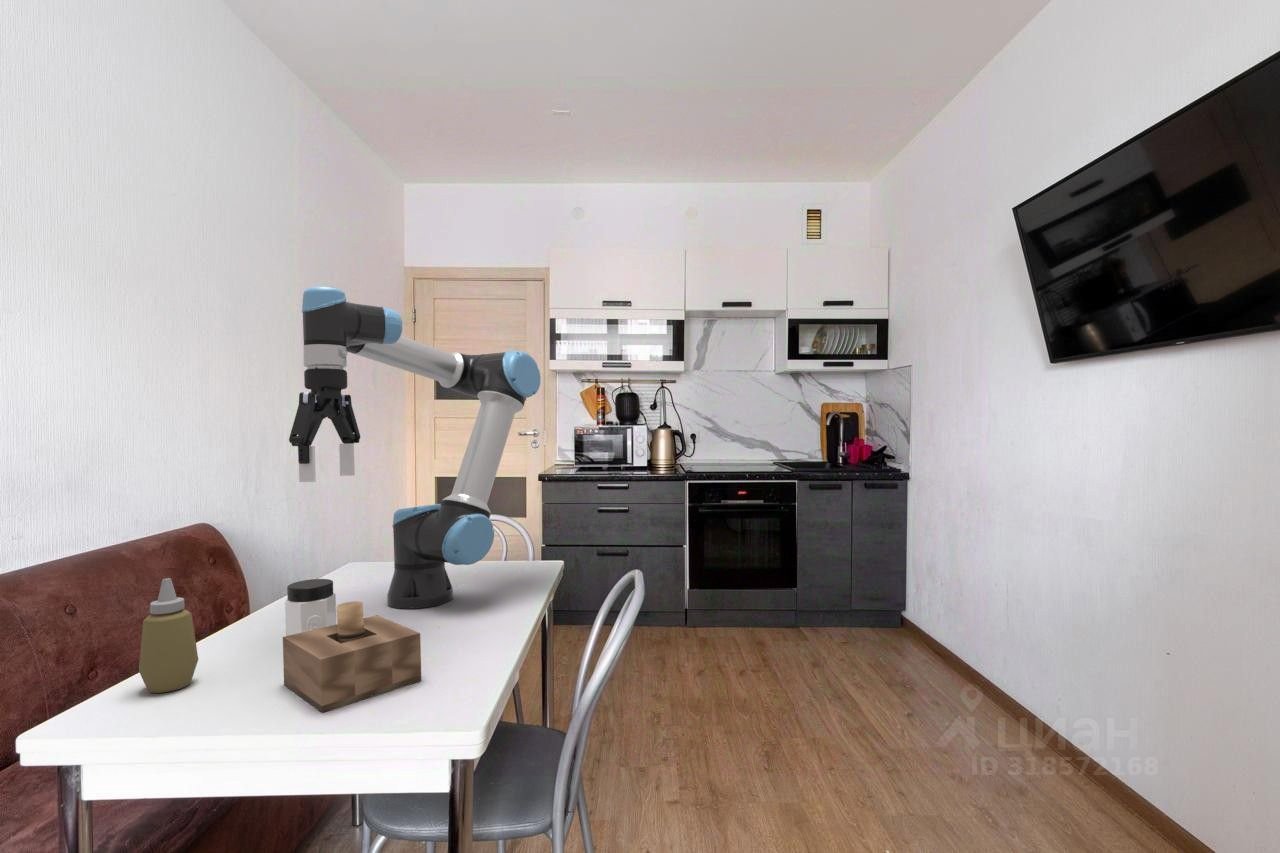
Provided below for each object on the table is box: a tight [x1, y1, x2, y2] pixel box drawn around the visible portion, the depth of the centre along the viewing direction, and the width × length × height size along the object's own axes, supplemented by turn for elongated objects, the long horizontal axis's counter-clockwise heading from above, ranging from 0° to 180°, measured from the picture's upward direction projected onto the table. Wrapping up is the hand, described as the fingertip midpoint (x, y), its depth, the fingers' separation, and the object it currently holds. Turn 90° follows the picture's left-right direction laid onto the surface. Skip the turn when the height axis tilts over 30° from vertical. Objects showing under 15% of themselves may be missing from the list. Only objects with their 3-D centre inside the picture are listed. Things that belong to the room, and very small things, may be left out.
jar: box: [284, 578, 337, 636], centre depth 130 cm, size 9×8×12 cm
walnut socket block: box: [282, 614, 422, 713], centre depth 110 cm, size 16×16×8 cm
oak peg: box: [336, 601, 365, 643], centre depth 110 cm, size 4×4×12 cm
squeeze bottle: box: [138, 577, 199, 694], centre depth 110 cm, size 8×8×18 cm
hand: (328, 478), depth 128 cm, fingers open, 13 cm apart
